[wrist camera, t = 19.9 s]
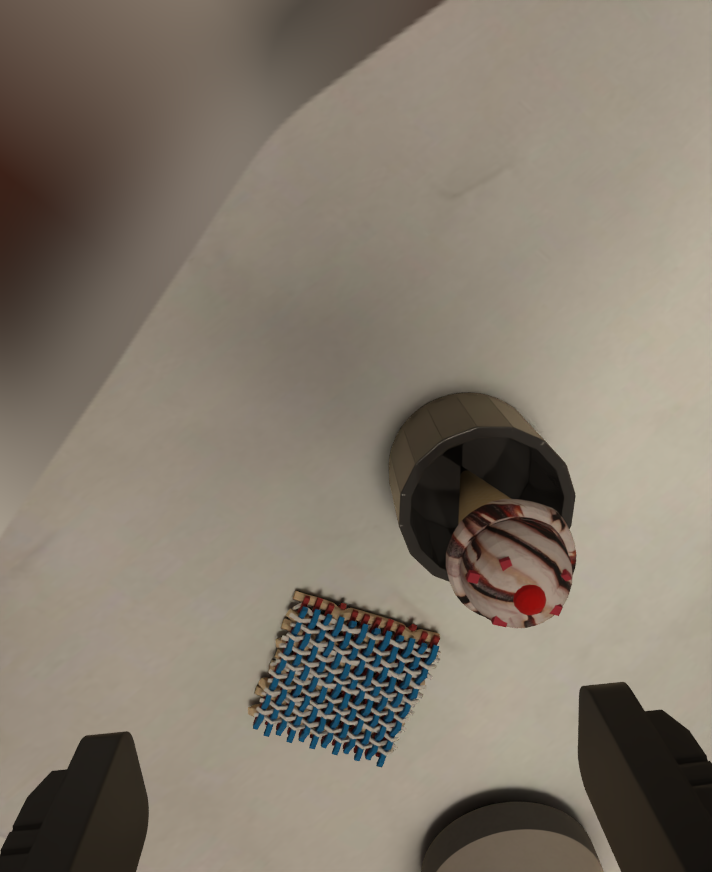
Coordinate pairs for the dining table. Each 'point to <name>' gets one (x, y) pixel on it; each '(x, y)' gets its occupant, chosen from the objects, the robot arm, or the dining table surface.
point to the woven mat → (338, 669)
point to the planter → (512, 842)
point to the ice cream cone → (509, 556)
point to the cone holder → (477, 452)
